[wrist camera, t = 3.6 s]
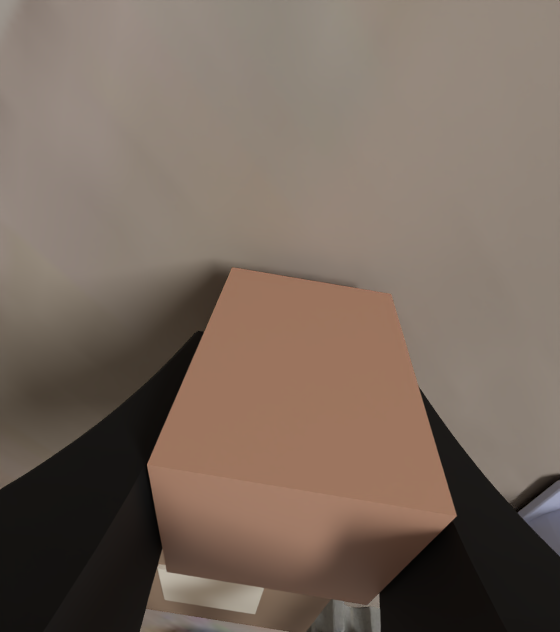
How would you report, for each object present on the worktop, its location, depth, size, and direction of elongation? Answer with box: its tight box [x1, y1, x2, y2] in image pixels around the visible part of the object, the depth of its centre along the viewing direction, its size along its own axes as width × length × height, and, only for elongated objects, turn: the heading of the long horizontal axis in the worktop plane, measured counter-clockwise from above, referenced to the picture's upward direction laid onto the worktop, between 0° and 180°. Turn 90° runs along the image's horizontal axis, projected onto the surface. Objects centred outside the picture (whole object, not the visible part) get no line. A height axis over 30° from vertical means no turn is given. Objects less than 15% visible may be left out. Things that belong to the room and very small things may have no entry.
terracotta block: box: [147, 267, 457, 605], centre depth 9 cm, size 5×5×6 cm
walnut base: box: [146, 549, 331, 632], centre depth 22 cm, size 14×14×3 cm
